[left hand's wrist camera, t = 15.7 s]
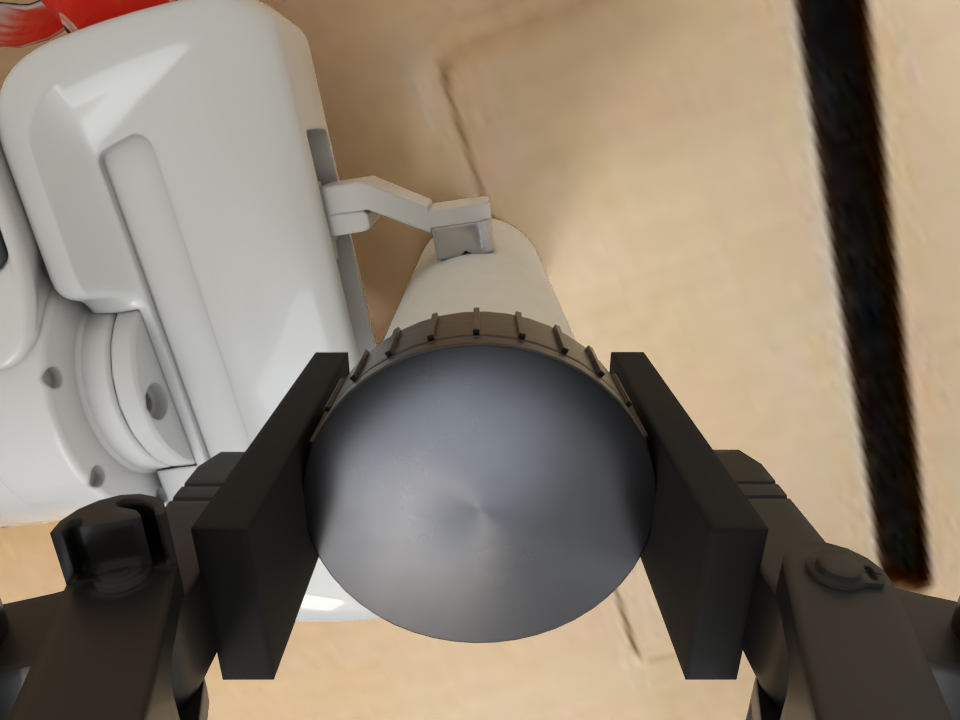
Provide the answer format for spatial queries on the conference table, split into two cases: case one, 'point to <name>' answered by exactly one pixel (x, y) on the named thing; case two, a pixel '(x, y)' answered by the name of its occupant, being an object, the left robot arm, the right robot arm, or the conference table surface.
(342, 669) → the conference table surface
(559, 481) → the lid
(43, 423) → the right robot arm
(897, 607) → the left robot arm
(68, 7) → the fish
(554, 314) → the jar
